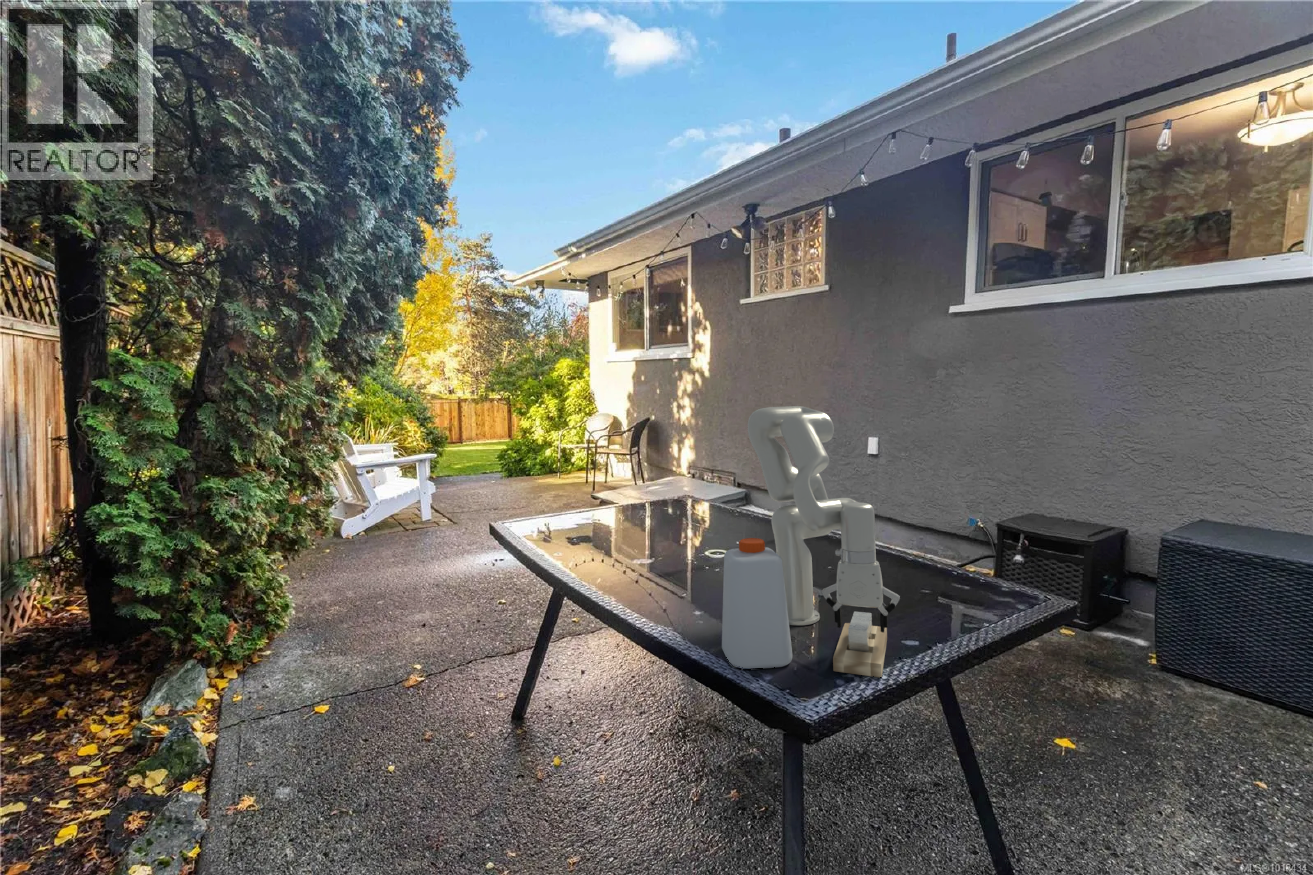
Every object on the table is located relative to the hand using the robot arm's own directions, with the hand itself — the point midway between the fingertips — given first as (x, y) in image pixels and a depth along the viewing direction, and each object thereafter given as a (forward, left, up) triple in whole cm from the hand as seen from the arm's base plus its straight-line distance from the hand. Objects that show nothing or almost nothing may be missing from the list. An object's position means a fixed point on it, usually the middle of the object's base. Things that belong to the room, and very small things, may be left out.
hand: (861, 627), depth 136 cm
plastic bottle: (-23, -9, -6) cm, 26 cm away
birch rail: (0, 0, -6) cm, 6 cm away
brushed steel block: (0, 0, -6) cm, 6 cm away
